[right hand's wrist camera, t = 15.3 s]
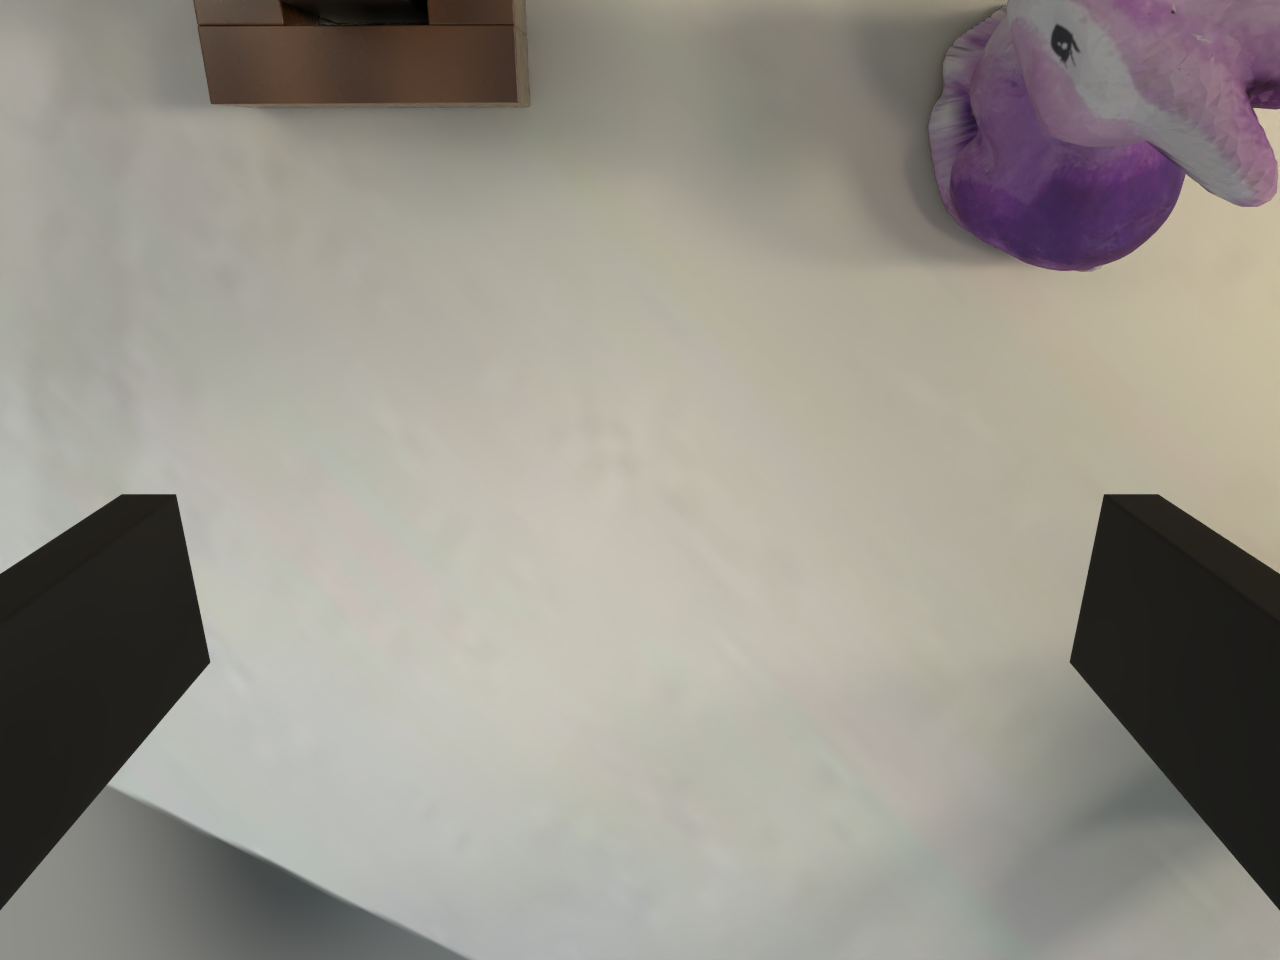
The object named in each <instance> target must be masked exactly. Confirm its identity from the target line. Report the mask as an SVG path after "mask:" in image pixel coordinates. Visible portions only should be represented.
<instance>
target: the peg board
mask: <svg viewBox="0 0 1280 960" xmlns="http://www.w3.org/2000/svg"><path fill="white" fill-rule="evenodd" d="M194 6H195V12H196V18H197V23H198V25H199V26H198V31H199V37H200V42H201V48H202V54H203V60H204V66H205V71H206V77H207V83H208V89H209V95H210V101H211V104H216V105H228V106H240V107H252V108H346V107H530V91H529V70H528V49H527V37H526V36H527V28H526V6H525V0H427V8H428V20H429V25H319V17H318V15H316V14H313V13H311V12H308V11H306V10H304V9H301V8H299V7H296V6H294V5H291V4H289V3H286V2H284V1H281V0H194Z"/></svg>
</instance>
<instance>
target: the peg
mask: <svg viewBox="0 0 1280 960" xmlns="http://www.w3.org/2000/svg"><path fill="white" fill-rule="evenodd" d="M281 1H284V2H286V3H289V4H291V5H294V6H296V7H299V8H301V9H304V10H306V11H308V12H311V13H313V14H316V15H318V16H321V17H323V18H326V19H328V20H331V21H333V22H336V23H429V20H428V8H427V0H281Z"/></svg>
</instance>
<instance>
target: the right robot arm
mask: <svg viewBox="0 0 1280 960" xmlns="http://www.w3.org/2000/svg"><path fill="white" fill-rule="evenodd" d="M209 663H210V658H209V654H208V649H207V644H206V639H205V634H204V629H203V624H202V619H201V614H200V609H199V605H198V600H197V595H196V590H195V585H194V580H193V575H192V570H191V565H190V561H189V556H188V551H187V546H186V541H185V536H184V531H183V526H182V521H181V517H180V512H179V507H178V502H177V497H176V494H122V495H120V496H119V497H117V498H116V499H114V500H113V501H111V502H109V503H108V504H106V505H105V506H103V507H102V508H100V509H99V510H97V511H96V512H94V513H93V514H91V515H90V516H88V517H87V518H85V519H84V520H82V521H80V522H79V523H77V524H76V525H74V526H73V527H71V528H70V529H68V530H67V531H65V532H64V533H62V534H61V535H59V536H58V537H56V538H55V539H53V540H51V541H50V542H48V543H47V544H45V545H44V546H42V547H41V548H39V549H38V550H36V551H35V552H33V553H32V554H30V555H29V556H27V557H26V558H24V559H22V560H21V561H19V562H18V563H16V564H15V565H13V566H12V567H10V568H9V569H7V570H6V571H4V572H3V573H1V574H0V910H1V909H2V908H3V906H4V905H5V904H6V903H7V902H8V901H9V899H10V898H11V897H12V896H13V895H14V893H15V892H16V891H17V890H18V889H19V888H20V886H21V885H22V884H23V883H24V882H25V880H26V879H27V878H28V877H29V876H30V875H31V873H32V872H33V871H34V870H35V869H36V867H37V866H38V865H39V864H40V863H41V862H42V860H43V859H44V858H45V857H46V856H47V854H48V853H49V852H50V851H51V850H52V848H53V847H54V846H55V845H56V844H57V843H58V841H59V840H60V839H61V838H62V837H63V836H64V834H65V833H66V832H67V831H68V830H69V829H70V827H71V826H72V825H73V824H74V823H75V821H76V820H77V819H78V818H79V817H80V816H81V814H82V813H83V812H84V811H85V810H86V808H87V807H88V806H89V805H90V804H91V803H92V801H93V800H94V799H95V798H96V797H97V795H98V794H99V793H100V792H101V791H102V790H103V788H104V787H105V786H106V785H107V784H108V782H109V781H110V780H111V779H112V778H113V777H114V775H115V774H116V773H117V772H118V771H119V769H120V768H121V767H122V766H123V765H124V764H125V762H126V761H127V760H128V759H129V758H130V756H131V755H132V754H133V753H134V752H135V751H136V749H137V748H138V747H139V746H140V745H141V743H142V742H143V741H144V740H145V739H146V738H147V736H148V735H149V734H150V733H151V732H152V730H153V729H154V728H155V727H156V726H157V725H158V723H159V722H160V721H161V720H162V719H163V718H164V716H165V715H166V714H167V713H168V712H169V710H170V709H171V708H172V707H173V706H174V705H175V703H176V702H177V701H178V700H179V699H180V697H181V696H182V695H183V694H184V693H185V692H186V690H187V689H188V688H189V687H190V686H191V684H192V683H193V682H194V681H195V680H196V679H197V677H198V676H199V675H200V674H201V673H202V671H203V670H204V669H205V668H206V667H207V666H208V664H209ZM1070 663H1071V664H1072V666H1073V667H1074V668H1075V669H1076V670H1077V671H1078V673H1079V674H1080V675H1081V676H1082V677H1083V679H1084V680H1085V681H1086V682H1087V683H1088V684H1089V686H1090V687H1091V688H1092V689H1093V690H1094V692H1095V693H1096V694H1097V695H1098V696H1099V697H1100V699H1101V700H1102V701H1103V702H1104V703H1105V705H1106V706H1107V707H1108V708H1109V709H1110V710H1111V712H1112V713H1113V714H1114V715H1115V716H1116V718H1117V719H1118V720H1119V721H1120V722H1121V723H1122V725H1123V726H1124V727H1125V728H1126V729H1127V730H1128V732H1129V733H1130V734H1131V735H1132V736H1133V738H1134V739H1135V740H1136V741H1137V742H1138V743H1139V745H1140V746H1141V747H1142V748H1143V749H1144V751H1145V752H1146V753H1147V754H1148V755H1149V756H1150V758H1151V759H1152V760H1153V761H1154V762H1155V764H1156V765H1157V766H1158V767H1159V768H1160V769H1161V771H1162V772H1163V773H1164V774H1165V775H1166V777H1167V778H1168V779H1169V780H1170V781H1171V782H1172V784H1173V785H1174V786H1175V787H1176V788H1177V790H1178V791H1179V792H1180V793H1181V794H1182V795H1183V797H1184V798H1185V799H1186V800H1187V801H1188V803H1189V804H1190V805H1191V806H1192V807H1193V808H1194V810H1195V811H1196V812H1197V813H1198V814H1199V816H1200V817H1201V818H1202V819H1203V820H1204V821H1205V823H1206V824H1207V825H1208V826H1209V827H1210V828H1211V830H1212V831H1213V832H1214V833H1215V834H1216V836H1217V837H1218V838H1219V839H1220V840H1221V841H1222V843H1223V844H1224V845H1225V846H1226V847H1227V849H1228V850H1229V851H1230V852H1231V853H1232V854H1233V856H1234V857H1235V858H1236V859H1237V860H1238V862H1239V863H1240V864H1241V865H1242V866H1243V867H1244V869H1245V870H1246V871H1247V872H1248V873H1249V875H1250V876H1251V877H1252V878H1253V879H1254V880H1255V882H1256V883H1257V884H1258V885H1259V886H1260V888H1261V889H1262V890H1263V891H1264V892H1265V893H1266V895H1267V896H1268V897H1269V898H1270V899H1271V901H1272V902H1273V903H1274V904H1275V905H1276V906H1277V908H1278V909H1279V910H1280V574H1279V573H1277V572H1276V571H1274V570H1273V569H1271V568H1270V567H1268V566H1267V565H1265V564H1264V563H1262V562H1261V561H1259V560H1258V559H1256V558H1254V557H1253V556H1251V555H1250V554H1248V553H1247V552H1245V551H1244V550H1242V549H1241V548H1239V547H1238V546H1236V545H1235V544H1233V543H1232V542H1230V541H1229V540H1227V539H1225V538H1224V537H1222V536H1221V535H1219V534H1218V533H1216V532H1215V531H1213V530H1212V529H1210V528H1209V527H1207V526H1206V525H1204V524H1203V523H1201V522H1200V521H1198V520H1196V519H1195V518H1193V517H1192V516H1190V515H1189V514H1187V513H1186V512H1184V511H1183V510H1181V509H1180V508H1178V507H1177V506H1175V505H1174V504H1172V503H1171V502H1169V501H1167V500H1166V499H1164V498H1163V497H1161V496H1160V495H1158V494H1104V497H1103V502H1102V507H1101V512H1100V517H1099V521H1098V526H1097V531H1096V536H1095V541H1094V546H1093V551H1092V556H1091V561H1090V565H1089V570H1088V575H1087V580H1086V585H1085V590H1084V595H1083V600H1082V605H1081V609H1080V614H1079V619H1078V624H1077V629H1076V634H1075V639H1074V644H1073V649H1072V654H1071V658H1070Z"/></svg>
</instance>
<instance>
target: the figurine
mask: <svg viewBox="0 0 1280 960" xmlns="http://www.w3.org/2000/svg"><path fill="white" fill-rule="evenodd" d="M1253 108H1264V109H1280V0H1008V3H1007V6H1004V7H1002V8H1001V9H999V10H998V11H996V12H994V13H993V14H992V16H991V17H987V18H986V20H985V21H981V22H980V23H979V25H974V27H973V28H972V29H968V31H967V32H966V33H963V34H962V35H961V36H960V37H959V38H957V39H956V40H955V41H954V43H953V45H952V46H950V48H949V49H948V50H947V53H946V55H945V59H944V62H943V93H942V95H941V97H940V99H939V100H938V101H937V102H936V103H935V105H934V107H933V109H932V112H931V116H930V121H929V125H928V130H929V143H930V149H931V152H932V155H931V159H932V161H933V165H934V171H935V177H936V182H937V183H938V186H939V190H940V194H941V197H942V201H943V203H944V205H945V208H946V210H947V211H948V212H949V213H950V214H951V216H952V217H953V218H954V219H955V220H956V222H957V223H958V224H959V225H960V226H961V227H963V228H965V229H966V230H968V231H970V232H972V233H973V234H974V235H975V236H976V237H978V238H979V239H981V240H982V241H984V242H986V243H988V244H990V245H992V246H994V247H996V248H999V249H1001V250H1003V251H1005V252H1007V253H1008V254H1010V255H1012V256H1014V257H1016V258H1018V259H1019V260H1021V261H1023V262H1025V263H1028V264H1031V265H1034V266H1038V267H1042V268H1046V269H1051V270H1059V271H1071V270H1075V271H1081V272H1088V271H1094V270H1097V269H1100V268H1101V267H1102V266H1103V265H1104V264H1107V263H1110V262H1113V261H1116V260H1118V259H1121V258H1122V257H1124V256H1126V255H1128V254H1130V253H1132V252H1133V251H1134V250H1135V249H1137V248H1138V247H1139V246H1140V245H1142V244H1143V243H1144V242H1146V241H1147V240H1148V239H1149V238H1150V237H1151V236H1152V235H1153V234H1154V233H1155V232H1156V231H1157V230H1158V229H1159V228H1160V227H1161V226H1162V224H1163V223H1164V222H1165V221H1166V220H1167V218H1168V217H1169V215H1170V213H1171V212H1172V210H1173V208H1174V206H1175V204H1176V202H1177V200H1178V197H1179V194H1180V191H1181V188H1182V184H1183V181H1184V178H1185V174H1187V175H1188V176H1189V177H1191V178H1192V179H1193V180H1194V181H1196V182H1197V183H1199V184H1200V185H1201V186H1202V187H1203V188H1205V189H1206V190H1207V191H1208V192H1210V193H1212V194H1214V195H1216V196H1218V197H1220V198H1222V199H1225V200H1227V201H1229V202H1231V203H1233V204H1235V205H1238V206H1242V207H1258V206H1261V205H1263V204H1264V203H1266V202H1268V201H1270V200H1271V199H1272V198H1273V196H1274V195H1275V194H1276V193H1277V180H1278V169H1277V161H1276V159H1275V157H1274V152H1273V150H1272V147H1271V145H1270V143H1269V141H1268V139H1267V137H1266V134H1265V132H1264V129H1263V128H1262V126H1261V125H1260V124H1259V122H1258V118H1257V116H1256V114H1255V112H1254V110H1253Z"/></svg>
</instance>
